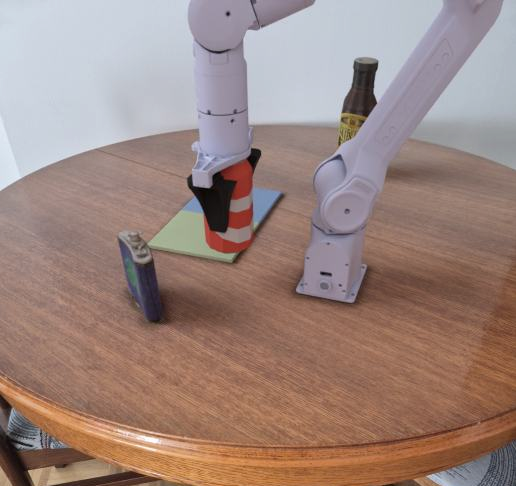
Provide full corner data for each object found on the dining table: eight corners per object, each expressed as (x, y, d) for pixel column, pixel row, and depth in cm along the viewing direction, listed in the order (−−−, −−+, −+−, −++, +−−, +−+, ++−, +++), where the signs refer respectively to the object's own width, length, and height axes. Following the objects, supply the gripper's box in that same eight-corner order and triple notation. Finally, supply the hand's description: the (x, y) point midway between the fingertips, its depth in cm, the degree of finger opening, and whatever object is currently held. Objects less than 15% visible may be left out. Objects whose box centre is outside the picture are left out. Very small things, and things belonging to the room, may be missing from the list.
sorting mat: (231, 263, 80) (231, 259, 79) (147, 247, 83) (146, 244, 83) (281, 194, 97) (281, 191, 96) (209, 184, 100) (209, 181, 100)
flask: (125, 289, 75) (111, 218, 68) (146, 283, 76) (134, 213, 69) (148, 326, 69) (135, 252, 62) (170, 319, 70) (159, 246, 63)
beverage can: (238, 261, 69) (233, 170, 61) (197, 249, 72) (188, 159, 64) (262, 240, 73) (261, 152, 65) (223, 229, 75) (217, 142, 68)
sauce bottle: (329, 178, 102) (337, 61, 89) (341, 166, 106) (351, 53, 93) (362, 184, 99) (376, 65, 86) (373, 172, 103) (388, 57, 90)
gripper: (214, 86, 67) (221, 190, 76) (161, 125, 57) (176, 240, 66) (268, 91, 65) (269, 196, 74) (223, 132, 55) (230, 249, 64)
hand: (228, 217), depth 70 cm, fingers closed on beverage can, 6 cm apart
